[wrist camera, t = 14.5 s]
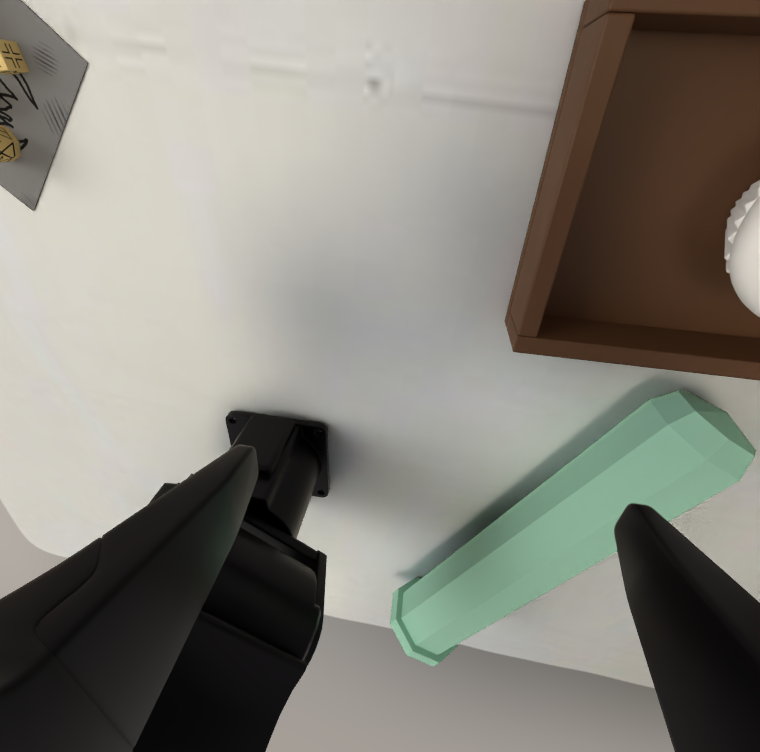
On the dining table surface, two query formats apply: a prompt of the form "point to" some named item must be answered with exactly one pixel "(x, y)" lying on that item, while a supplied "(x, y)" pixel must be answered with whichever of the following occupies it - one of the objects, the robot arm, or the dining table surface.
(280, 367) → the dining table surface
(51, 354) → the dining table surface
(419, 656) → the container
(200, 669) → the robot arm
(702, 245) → the tray
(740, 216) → the white rounded ribbed piece
